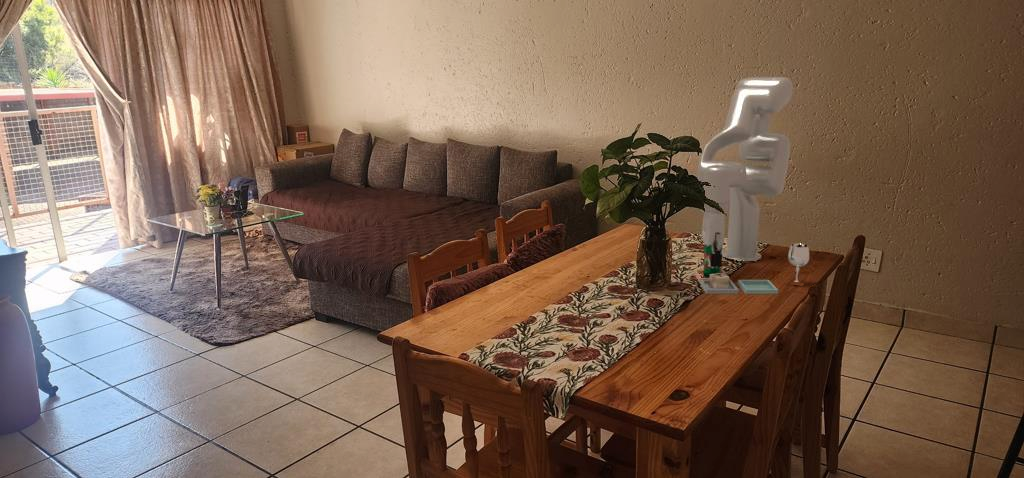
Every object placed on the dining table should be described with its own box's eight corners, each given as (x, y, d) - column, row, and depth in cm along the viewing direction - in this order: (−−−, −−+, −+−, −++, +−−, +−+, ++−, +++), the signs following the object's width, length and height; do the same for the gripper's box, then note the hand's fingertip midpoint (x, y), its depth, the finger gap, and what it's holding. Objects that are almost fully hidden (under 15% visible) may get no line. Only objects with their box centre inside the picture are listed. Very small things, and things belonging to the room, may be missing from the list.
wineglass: (803, 288, 193) (807, 249, 190) (783, 285, 197) (786, 246, 194) (808, 283, 198) (812, 244, 195) (788, 279, 201) (792, 241, 198)
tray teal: (737, 285, 197) (737, 279, 197) (768, 285, 197) (768, 279, 196) (745, 295, 189) (745, 289, 188) (777, 295, 188) (778, 289, 188)
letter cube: (709, 287, 195) (709, 273, 194) (721, 285, 196) (722, 272, 195) (715, 291, 191) (716, 277, 190) (728, 290, 192) (729, 276, 191)
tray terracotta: (693, 275, 208) (694, 269, 207) (722, 275, 207) (723, 269, 207) (699, 284, 199) (699, 278, 199) (729, 284, 199) (730, 278, 198)
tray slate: (699, 285, 198) (700, 279, 198) (730, 285, 198) (730, 279, 197) (706, 295, 190) (706, 289, 189) (738, 295, 189) (738, 289, 188)
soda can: (718, 275, 205) (720, 237, 202) (721, 280, 201) (724, 242, 197) (701, 275, 206) (703, 237, 203) (704, 280, 201) (706, 242, 198)
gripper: (696, 201, 206) (694, 253, 210) (708, 213, 189) (705, 270, 194) (721, 201, 205) (718, 253, 210) (735, 213, 189) (731, 270, 193)
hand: (712, 261), depth 202 cm, fingers open, 9 cm apart
